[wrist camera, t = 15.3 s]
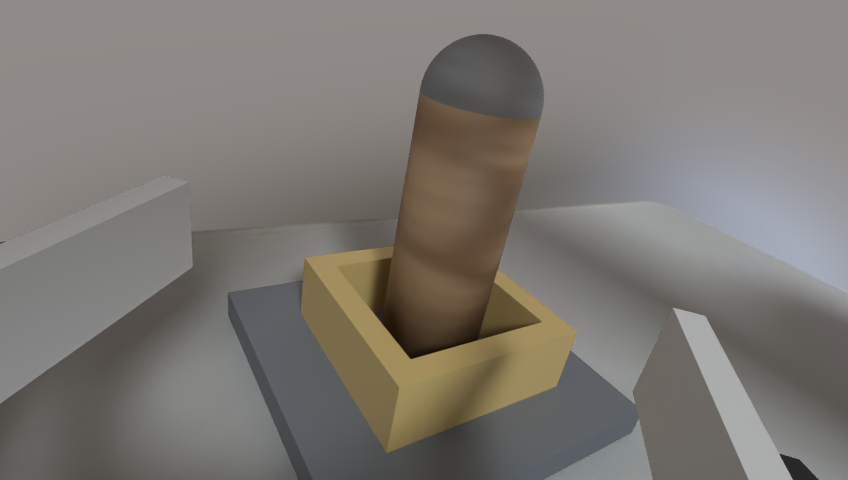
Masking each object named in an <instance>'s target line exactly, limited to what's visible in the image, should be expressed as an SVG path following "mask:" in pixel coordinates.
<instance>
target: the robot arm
mask: <svg viewBox="0 0 848 480" xmlns="http://www.w3.org/2000/svg"><path fill="white" fill-rule="evenodd" d="M189 187H190V186H189V182H188V181H184V180H180V179H176V178H173V177H168V176H162V177H160V178H157V179H155V180H153V181H150V182H148V183H145V184H143V185H141V186H138V187H136V188H133V189H131V190H128V191H126V192H124V193H121V194H119V195H117V196H114V197H112V198H109V199H107V200H104V201H102V202H100V203H97V204H95V205H93V206H90V207H88V208H86V209H83V210H81V211H78V212H76V213H73V214H71V215H68V216H66V217H64V218H61V219H59V220H56V221H54V222H52V223H49V224H47V225H44V226H42V227H40V228H37V229H35V230H33V231H30V232H27V233H25V234H23V235H20V236H18V237H15V238H13V239H11V240H8V241H5V242H1V243H0V403H2V402H3V401H4V400H6V399H7V398H9V397H10V396H11V395H13V394H14V393H16V392H17V391H18V390H20V389H21V388H23V387H24V386H26V385H27V384H28V383H30V382H31V381H33V380H34V379H35V378H37V377H38V376H40V375H41V374H42V373H44V372H45V371H47V370H48V369H50V368H51V367H52V366H54V365H55V364H57V363H58V362H59V361H61V360H62V359H64V358H65V357H66V356H68V355H69V354H71V353H72V352H74V351H75V350H76V349H78V348H79V347H81V346H82V345H83V344H85V343H86V342H88V341H89V340H90V339H92V338H93V337H95V336H96V335H98V334H99V333H100V332H102V331H103V330H105V329H106V328H107V327H109V326H110V325H112V324H113V323H114V322H116V321H117V320H119V319H120V318H122V317H123V316H124V315H126V314H127V313H129V312H130V311H131V310H133V309H134V308H136V307H137V306H138V305H140V304H141V303H143V302H144V301H145V300H147V299H148V298H150V297H151V296H153V295H154V294H155V293H157V292H158V291H160V290H161V289H162V288H164V287H165V286H167V285H168V284H169V283H171V282H172V281H174V280H175V279H177V278H178V277H179V276H181V275H182V274H184V273H185V272H186V271H188V270H189V269H191V268H192V267H193V260H192V235H191V212H190V190H189V189H190V188H189ZM633 395H634V399H635V404H636V408H637V412H638V417H639V421H640V425H641V430H642V434H643V438H644V442H645V447H646V451H647V455H648V460H649V464H650V468H651V472H652V477H653V480H818V479H817V478H816V477H815V475H814V474H813V473H812V472H811V471H810V470H809V469H808V468H807V467H806V466H805V465H804V464H803V463H802V462H801V461H800V460H799V459H796V458H792V457H789V456H785V455H782V454H779V453H778V451H777V449H776V447H775V445H774V444H773V442H772V440H771V438H770V436H769V434H768V432H767V430H766V429H765V427H764V425H763V423H762V421H761V419H760V417H759V416H758V414H757V412H756V410H755V408H754V406H753V404H752V402H751V401H750V399H749V397H748V395H747V393H746V391H745V389H744V387H743V386H742V384H741V382H740V380H739V378H738V376H737V374H736V372H735V371H734V369H733V367H732V365H731V363H730V361H729V359H728V358H727V356H726V354H725V352H724V350H723V348H722V346H721V344H720V343H719V341H718V339H717V337H716V335H715V333H714V331H713V329H712V328H711V326H710V324H709V322H708V320H707V318H706V316H704V315H700V314H696V313H692V312H688V311H684V310H680V309H677V308H673V309H672V311H671V313H670V315H669V317H668V319H667V321H666V323H665V325H664V327H663V329H662V332H661V334H660V336H659V338H658V340H657V342H656V344H655V346H654V348H653V350H652V352H651V354H650V357H649V359H648V361H647V363H646V365H645V367H644V369H643V371H642V373H641V375H640V377H639V379H638V382H637V384H636V386H635V388H634V390H633Z"/></svg>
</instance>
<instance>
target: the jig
mask: <svg viewBox="0 0 848 480" xmlns="http://www.w3.org/2000/svg"><path fill="white" fill-rule="evenodd" d="M393 249H394V246H388V247H381V248H373V249H366V250H358V251H351V252H343V253H336V254H328V255H321V256H313V257H306V258H305V261H304V274H303V281H298V282H292V283H286V284H279V285H273V286H267V287H261V288H254V289H248V290H242V291H236V292H229V293H228V315H229V317H230V320H231V322H232V324H233V327H234V329H235V331H236V334H237V336H238V338H239V341H240V343H241V346H242V348H243V350H244V353H245V355H246V357H247V360H248V362H249V364H250V367H251V369H252V371H253V374H254V376H255V378H256V381H257V383H258V385H259V388H260V390H261V392H262V395H263V397H264V399H265V402H266V404H267V406H268V409H269V411H270V413H271V416H272V418H273V420H274V423H275V425H276V427H277V430H278V432H279V434H280V437H281V439H282V441H283V444H284V446H285V448H286V451H287V453H288V455H289V458H290V460H291V463H292V465H293V467H294V470H295V472H296V474H297V477H298V479H299V480H543V479H545V478H547V477H548V476H550V475H552V474H554V473H556V472H558V471H560V470H562V469H563V468H565V467H567V466H569V465H571V464H573V463H575V462H577V461H579V460H580V459H582V458H584V457H586V456H588V455H590V454H592V453H594V452H595V451H597V450H599V449H601V448H603V447H605V446H607V445H609V444H611V443H612V442H614V441H616V440H618V439H620V438H622V437H624V436H626V435H627V434H629V433H631V432H632V431H633V429H634V427H635V425H636V423H637V421H638V419H639V417H638V412H637V408H636V405H635V404H634V403H632V402H631V401H630V400H629V399H628V398H626V397H625V396H624V395H623V394H622V393H620V392H619V391H618V390H617V389H616V388H614V387H613V386H612V385H611V384H610V383H608V382H607V381H606V380H605V379H604V378H603V377H601V376H600V375H599V374H598V373H597V372H595V371H594V370H593V369H592V368H591V367H589V366H588V365H587V364H586V363H585V362H583V361H582V360H581V359H580V358H579V357H578V356H576V355H575V354H574V353H573V352H572V351H570V350H571V347H572V345H573V342H574V339H575V337H576V334H577V332H578V331H576V330H575V329H574V328H573V327H571V326H570V325H569V324H568V323H566V322H565V321H564V320H562V319H561V318H560V317H559V316H557V315H556V314H555V313H554V312H552V311H551V310H550V309H549V308H547V307H546V306H545V305H544V304H542V303H541V302H540V301H538V300H537V299H536V298H535V297H533V296H532V295H531V294H530V293H528V292H527V291H526V290H525V289H523V288H522V287H521V286H519V285H518V284H517V283H516V282H514V281H513V280H512V279H511V278H509V277H508V276H507V275H506V274H504V273H503V272H502V271H501V270H499V269H498V270H497V273H496V277H495V280H494V284H493V287H492V291H491V295H490V298H489V302H488V305H487V309H486V312H485V316H484V319H483V323H482V326H481V330H480V333H479V337H478V340H477V341H474V342H470V343H467V344H463V345H460V346H456V347H453V348H449V349H445V350H442V351H438V352H435V353H431V354H428V355H424V356H421V357H417V358H414V359H410V358H409V357H408V356H407V354H406V353H405V352H404V351H403V349H402V348H401V347H400V346H399V344H398V343H397V342H396V341H395V339H394V338H393V337H392V336H391V334H390V333H389V332H388V331H387V329H386V328H385V327H384V326H383V324H382V323H381V321H382V315H383V309H384V303H385V297H386V291H387V285H388V279H389V273H390V267H391V261H392V255H393Z"/></svg>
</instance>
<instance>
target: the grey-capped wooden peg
mask: <svg viewBox="0 0 848 480" xmlns="http://www.w3.org/2000/svg"><path fill="white" fill-rule="evenodd" d="M543 102H544V89H543V84H542V80H541V77H540V73H539V71H538V69H537V67H536V65H535V63H534V62H533V60H532V59H531V57H530V56H529V55H528V54H527V53H526V52H525V51H524V50H523V49H522V48H521V47H519V46H518V45H517V44H515V43H513V42H512V41H510V40H507V39H505V38H503V37H499V36H495V35H488V34H478V35H472V36H468V37H464V38H461V39H459V40H457V41H455V42H453V43H451V44H450V45H448V46H447V47H445V48H444V49H443V50H442V51H441V52H440V53H439V54H438V55H437V56H436V57H435V58H434V59H433V61H432V62H431V63H430V65H429V67H428V68H427V70H426V72H425V75H424V77H423V80H422V83H421V88H420V93H419V99H418V105H417V111H416V118H415V123H414V129H413V135H412V141H411V148H410V153H409V159H408V165H407V172H406V177H405V183H404V189H403V195H402V201H401V207H400V213H399V219H398V225H397V231H396V237H395V243H394V249H393V255H392V261H391V267H390V273H389V279H388V285H387V291H386V297H385V303H384V309H383V315H382V321H381V323H382V324H383V326H384V327H385V328H386V329H387V331H388V332H389V333H390V334H391V336H392V337H393V338H394V339H395V341H396V342H397V343H398V344H399V346H400V347H401V348H402V349H403V351H404V352H405V353H406V354H407V356H408V357H409V358H410V359H414V358H417V357H421V356H424V355H428V354H431V353H435V352H438V351H442V350H445V349H449V348H453V347H456V346H460V345H463V344H467V343H470V342H474V341H477V340H478V337H479V333H480V330H481V326H482V323H483V319H484V316H485V312H486V309H487V305H488V302H489V298H490V295H491V291H492V287H493V284H494V280H495V277H496V273H497V270H498V266H499V263H500V259H501V256H502V252H503V249H504V245H505V242H506V238H507V234H508V231H509V227H510V224H511V220H512V217H513V213H514V210H515V206H516V202H517V199H518V196H519V192H520V188H521V185H522V182H523V178H524V174H525V171H526V167H527V164H528V160H529V156H530V153H531V150H532V146H533V143H534V139H535V136H536V132H537V129H538V125H539V122H540V118H541V114H542V110H543Z"/></svg>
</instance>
